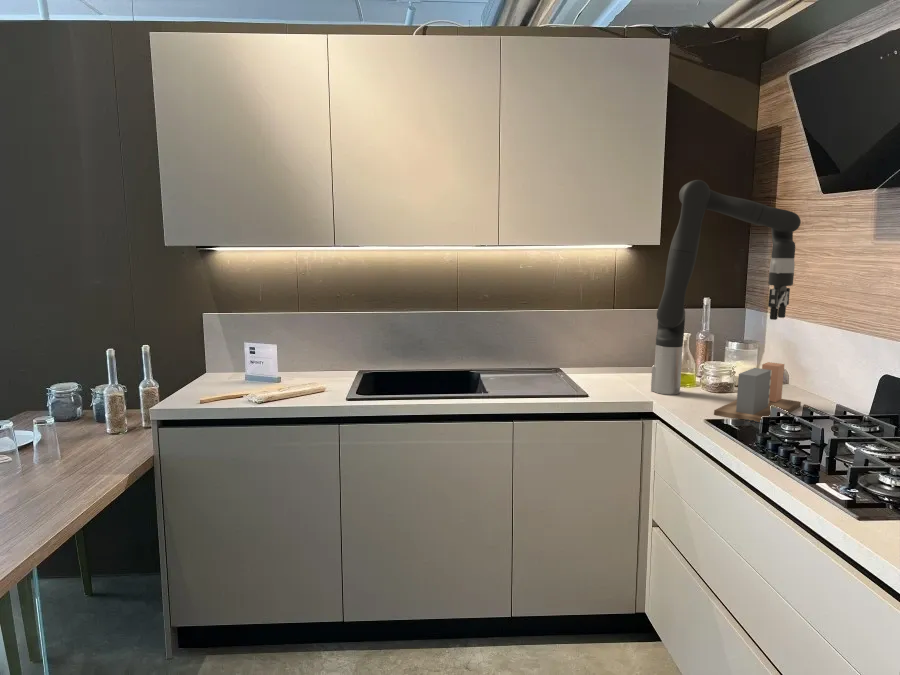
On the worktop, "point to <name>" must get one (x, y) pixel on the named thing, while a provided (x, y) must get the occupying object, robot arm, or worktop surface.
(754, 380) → the charcoal ticket block
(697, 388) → the worktop surface
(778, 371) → the terracotta stub
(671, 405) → the worktop surface
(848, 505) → the worktop surface
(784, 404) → the walnut board
